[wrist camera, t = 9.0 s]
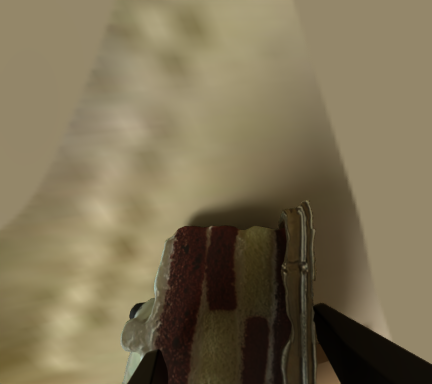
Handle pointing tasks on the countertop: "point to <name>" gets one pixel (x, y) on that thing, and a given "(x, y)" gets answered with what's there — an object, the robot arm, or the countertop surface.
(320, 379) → the serving board
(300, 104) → the countertop surface
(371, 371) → the robot arm
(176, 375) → the chocolate cake
